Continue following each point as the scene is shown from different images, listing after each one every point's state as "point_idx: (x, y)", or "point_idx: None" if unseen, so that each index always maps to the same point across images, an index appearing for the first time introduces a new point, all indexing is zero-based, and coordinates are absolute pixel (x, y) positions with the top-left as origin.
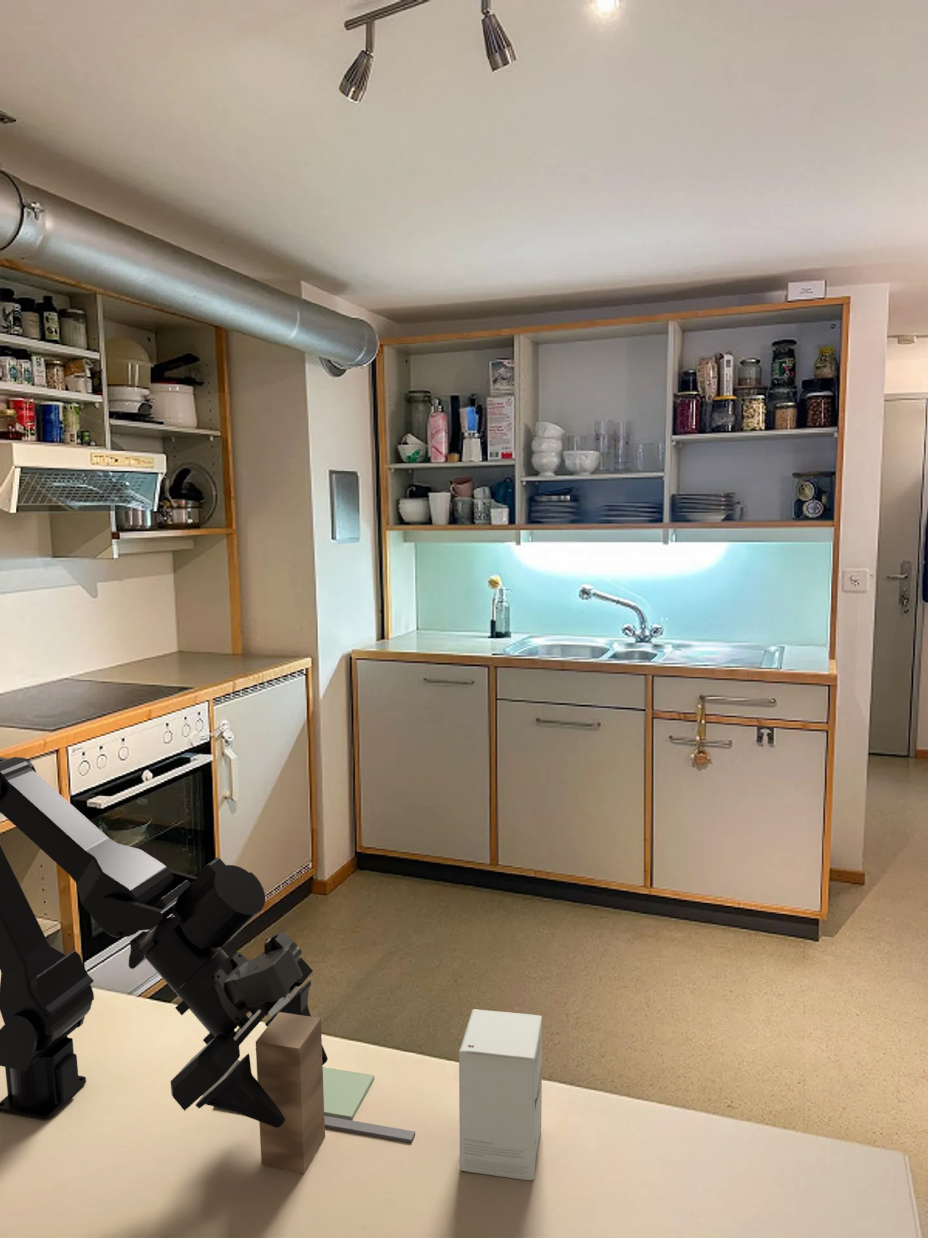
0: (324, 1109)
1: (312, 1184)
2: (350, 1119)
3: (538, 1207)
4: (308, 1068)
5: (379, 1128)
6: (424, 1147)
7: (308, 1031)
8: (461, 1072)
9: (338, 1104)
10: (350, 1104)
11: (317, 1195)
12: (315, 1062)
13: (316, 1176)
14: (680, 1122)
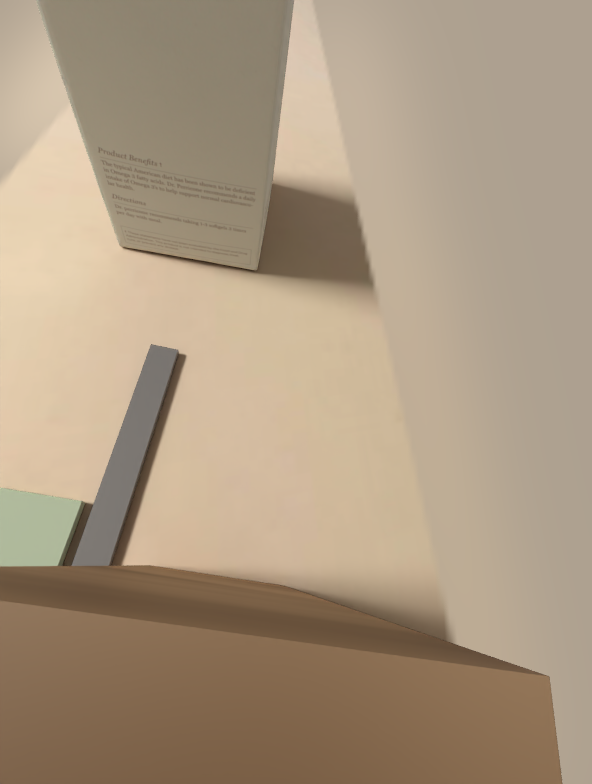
0: None
1: (313, 553)
2: (83, 506)
3: (317, 184)
4: (261, 601)
5: (135, 421)
6: (192, 329)
7: (150, 677)
8: (286, 16)
9: (15, 555)
10: (22, 516)
11: (343, 531)
12: (151, 582)
13: (288, 550)
14: None
